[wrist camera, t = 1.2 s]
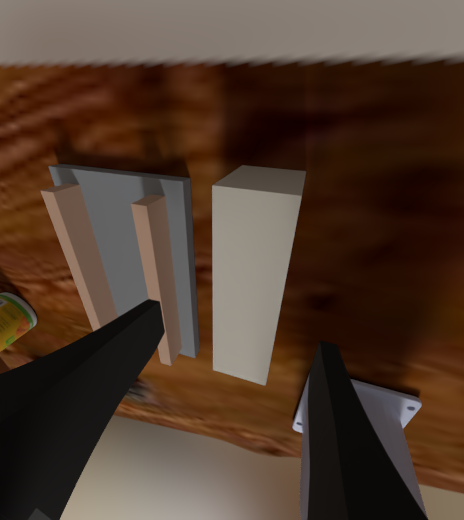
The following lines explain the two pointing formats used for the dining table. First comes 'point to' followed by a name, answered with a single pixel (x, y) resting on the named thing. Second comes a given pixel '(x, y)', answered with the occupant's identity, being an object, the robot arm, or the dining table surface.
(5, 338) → the supplement bottle
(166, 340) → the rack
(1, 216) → the dining table surface
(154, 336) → the robot arm
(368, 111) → the dining table surface
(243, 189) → the beige rectangular block
